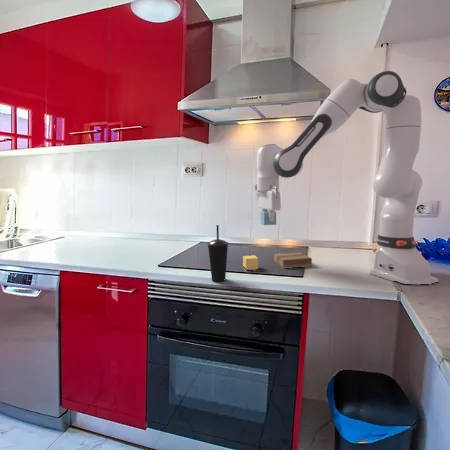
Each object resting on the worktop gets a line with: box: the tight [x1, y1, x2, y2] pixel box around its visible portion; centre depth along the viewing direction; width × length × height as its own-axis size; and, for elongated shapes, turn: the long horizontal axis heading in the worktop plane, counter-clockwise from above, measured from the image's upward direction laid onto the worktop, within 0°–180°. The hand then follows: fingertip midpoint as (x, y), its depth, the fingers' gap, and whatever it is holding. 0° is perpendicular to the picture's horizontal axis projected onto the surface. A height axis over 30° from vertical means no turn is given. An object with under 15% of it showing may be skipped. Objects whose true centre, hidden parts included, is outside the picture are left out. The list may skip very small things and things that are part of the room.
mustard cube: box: [242, 254, 259, 270], centre depth 129 cm, size 5×5×5 cm
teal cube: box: [260, 210, 277, 226], centre depth 130 cm, size 5×5×5 cm
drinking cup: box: [206, 224, 230, 283], centre depth 114 cm, size 8×8×20 cm
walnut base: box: [273, 251, 312, 268], centre depth 135 cm, size 12×12×4 cm
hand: (268, 220), depth 130 cm, fingers closed on teal cube, 5 cm apart
